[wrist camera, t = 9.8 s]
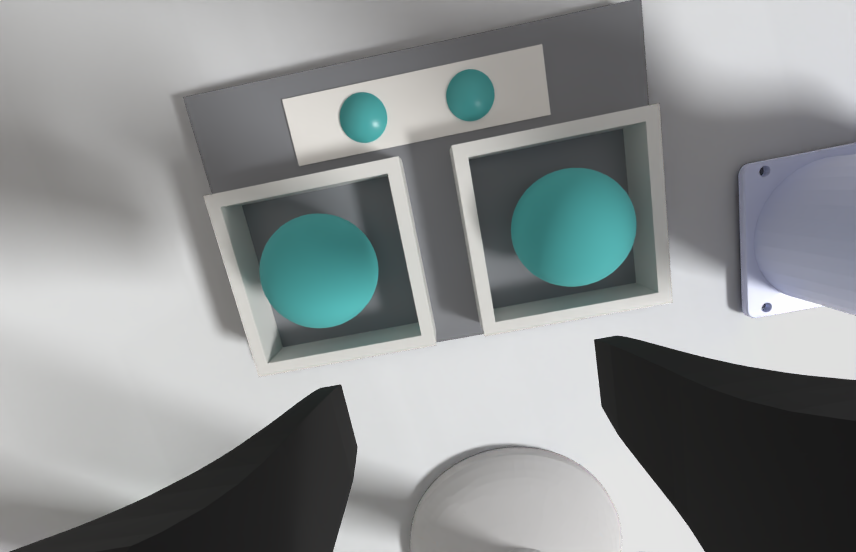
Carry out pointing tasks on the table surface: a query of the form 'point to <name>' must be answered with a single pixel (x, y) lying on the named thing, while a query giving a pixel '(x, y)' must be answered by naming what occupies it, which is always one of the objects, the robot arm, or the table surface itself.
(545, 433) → the table surface
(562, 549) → the candlestick
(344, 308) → the loose teal ball
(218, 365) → the table surface
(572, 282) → the seated teal ball
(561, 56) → the sorting tray
